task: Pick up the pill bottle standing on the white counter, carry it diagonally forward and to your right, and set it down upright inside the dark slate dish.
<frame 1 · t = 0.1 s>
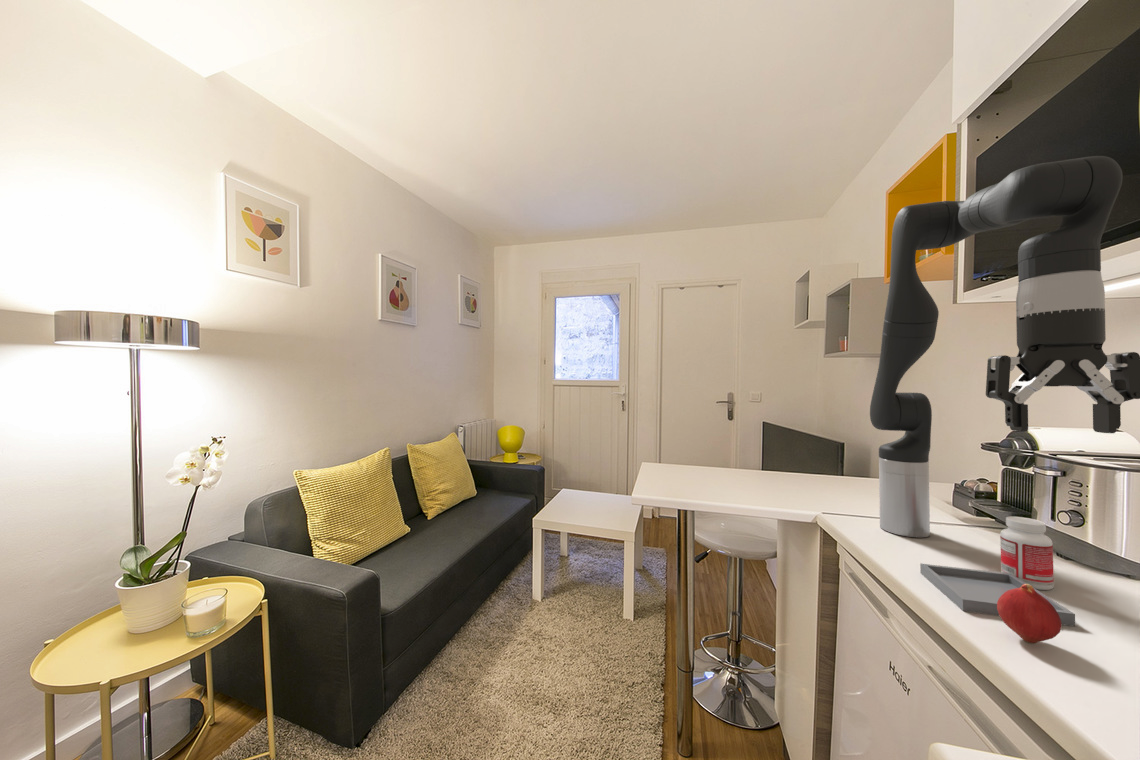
hand: (1060, 431, 53), 29 cm above the countertop, fingers open, 8 cm apart
onion: (1028, 643, 55), on the countertop
pill bottle: (1026, 583, 71), on the countertop
slate dish: (988, 596, 66), on the countertop
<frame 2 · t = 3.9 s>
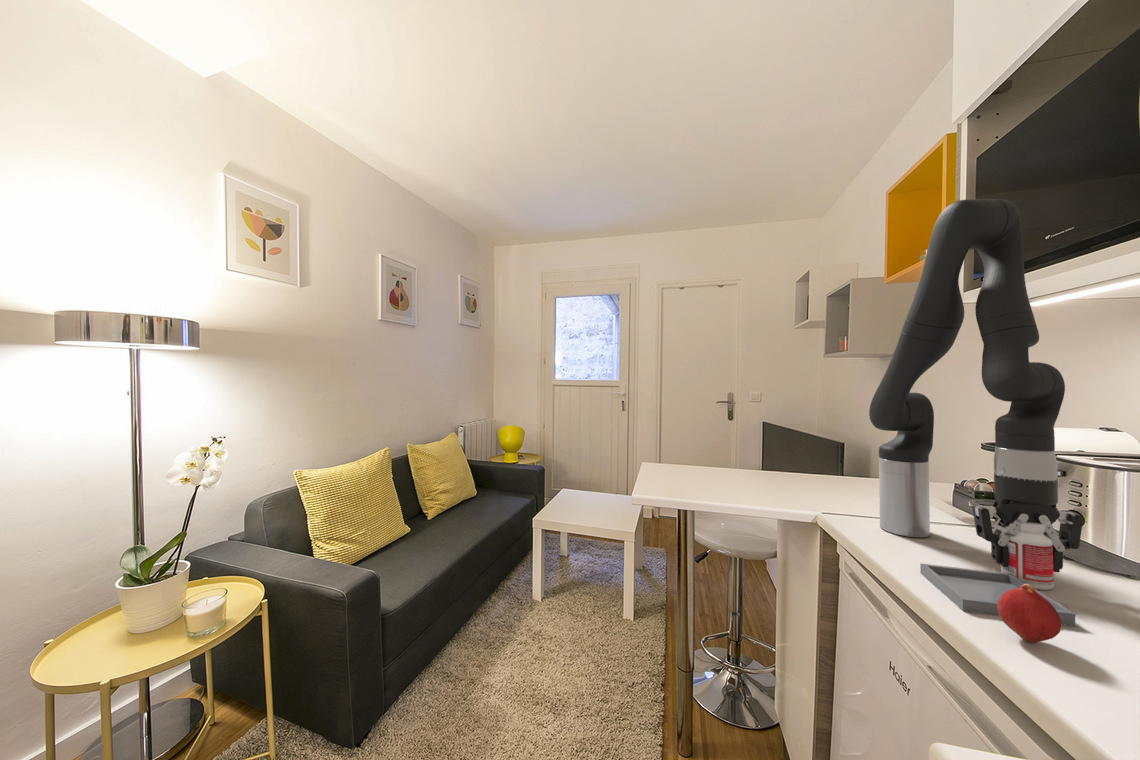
hand: (1026, 567, 71), 3 cm above the countertop, fingers closed on pill bottle, 6 cm apart
pill bottle: (1026, 583, 71), on the countertop, touching gripper
everything else where it was.
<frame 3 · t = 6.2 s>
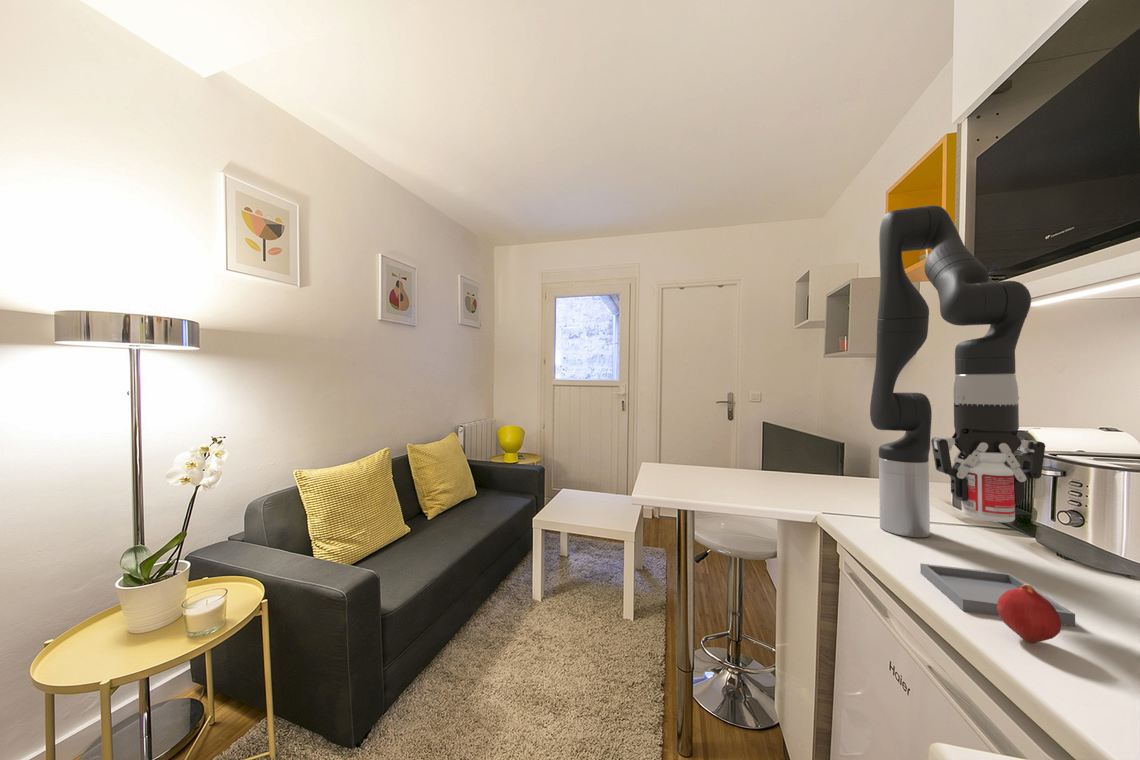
hand: (986, 501, 67), 16 cm above the countertop, fingers closed on pill bottle, 6 cm apart
pill bottle: (987, 518, 66), point 13 cm above the countertop, touching gripper
everything else where it was.
when the fingers open (4 cm above the countertop, at t = 8.8 s): pill bottle drops 1 cm, resting on slate dish.
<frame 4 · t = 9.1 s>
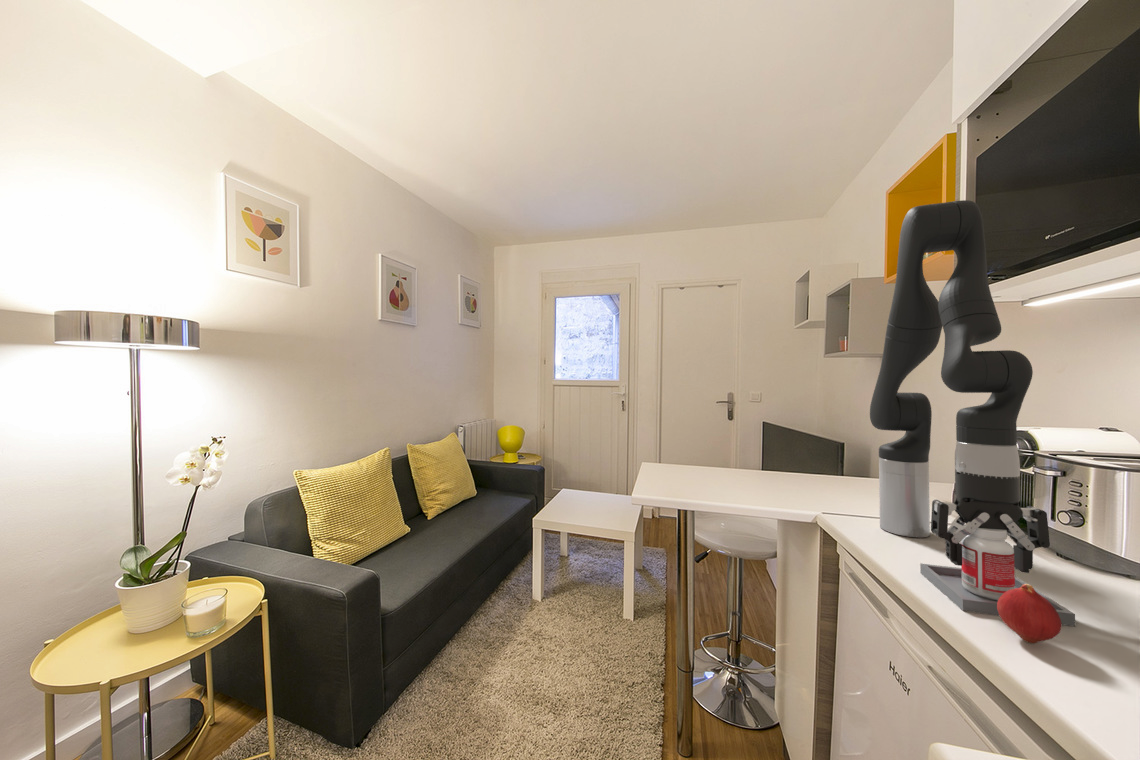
hand: (987, 567, 66), 5 cm above the countertop, fingers open, 8 cm apart
pill bottle: (987, 593, 66), resting on slate dish
everything else where it was.
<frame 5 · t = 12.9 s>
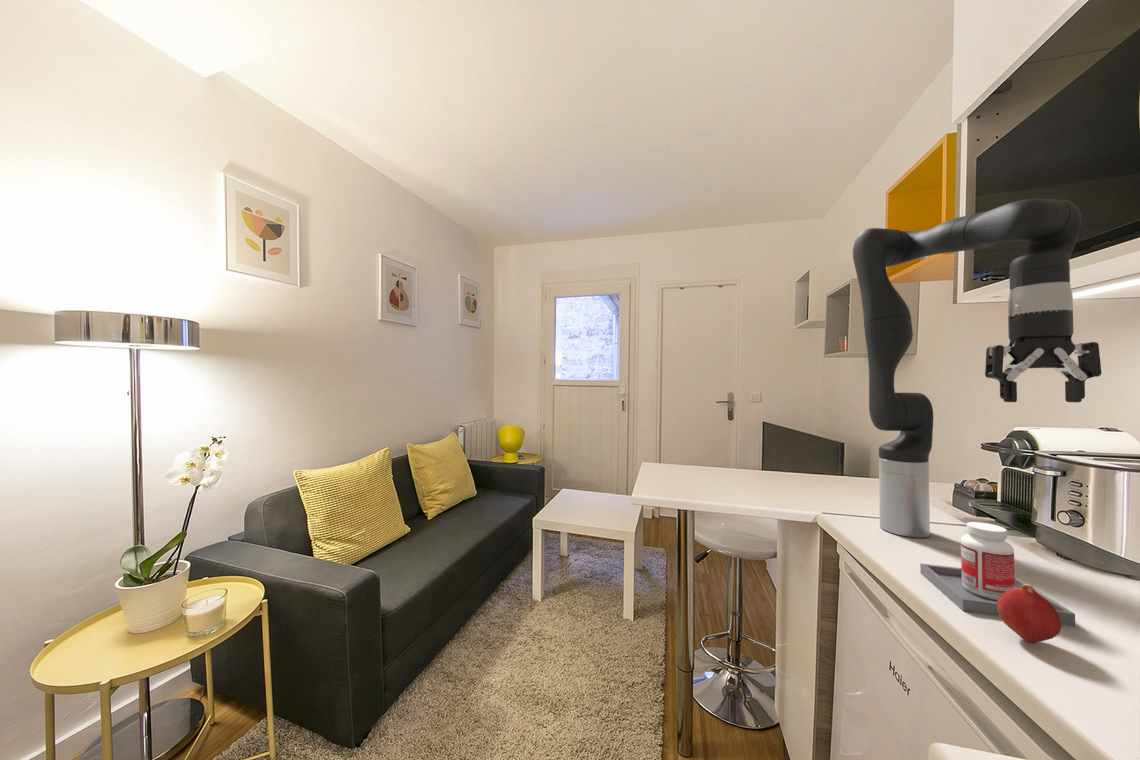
hand: (1041, 402, 71), 32 cm above the countertop, fingers open, 8 cm apart
nothing on the countertop moved.
at the end: pill bottle inside the target area on the slate dish (0.1 cm from its centre), point 0.4 cm above the slate dish's base; pill bottle tilted 0°; the gripper is holding nothing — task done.
